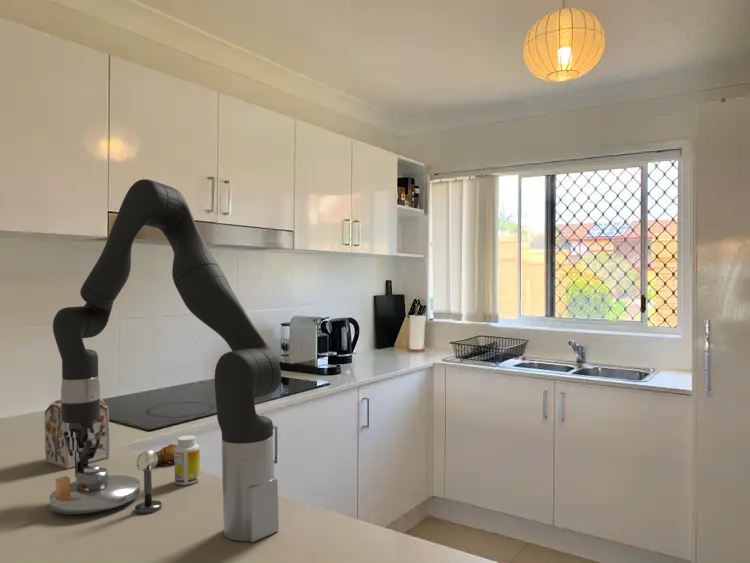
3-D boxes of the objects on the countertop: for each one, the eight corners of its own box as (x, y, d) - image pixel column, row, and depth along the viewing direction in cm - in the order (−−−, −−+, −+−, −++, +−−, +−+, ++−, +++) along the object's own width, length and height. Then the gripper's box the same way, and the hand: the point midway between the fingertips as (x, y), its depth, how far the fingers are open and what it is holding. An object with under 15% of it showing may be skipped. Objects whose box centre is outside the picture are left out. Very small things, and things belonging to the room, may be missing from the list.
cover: (113, 486, 121) (112, 466, 121) (83, 494, 116) (83, 474, 116) (100, 480, 125) (99, 461, 125) (71, 488, 120) (70, 468, 120)
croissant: (194, 455, 153) (194, 436, 153) (201, 461, 147) (201, 442, 147) (141, 464, 146) (140, 445, 146) (146, 471, 140) (145, 451, 140)
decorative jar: (88, 451, 158) (87, 386, 158) (111, 457, 151) (110, 390, 152) (43, 462, 148) (41, 393, 149) (65, 470, 142) (64, 398, 142)
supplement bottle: (202, 476, 134) (201, 433, 134) (197, 485, 129) (196, 440, 129) (178, 478, 134) (177, 434, 134) (172, 486, 128) (171, 441, 128)
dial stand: (166, 508, 116) (165, 450, 116) (143, 516, 112) (141, 456, 112) (153, 502, 119) (152, 446, 119) (130, 510, 115) (129, 451, 115)
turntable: (155, 494, 120) (154, 467, 120) (70, 521, 107) (70, 490, 107) (117, 478, 131) (116, 453, 131) (36, 500, 118) (35, 472, 118)
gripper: (112, 399, 122) (113, 479, 122) (85, 391, 131) (85, 467, 131) (76, 405, 116) (77, 489, 116) (49, 397, 125) (50, 476, 125)
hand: (81, 477), depth 124 cm, fingers closed
